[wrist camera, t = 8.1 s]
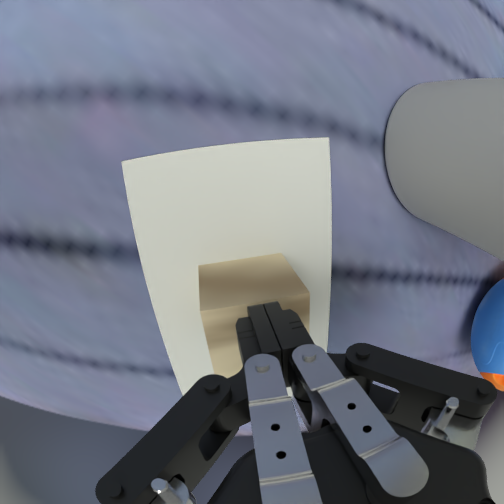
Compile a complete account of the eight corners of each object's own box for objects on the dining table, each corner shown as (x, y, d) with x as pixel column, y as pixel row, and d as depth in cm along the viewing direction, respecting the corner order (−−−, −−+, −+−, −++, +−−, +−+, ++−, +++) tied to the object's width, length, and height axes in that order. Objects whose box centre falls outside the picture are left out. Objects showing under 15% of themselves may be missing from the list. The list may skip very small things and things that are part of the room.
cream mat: (123, 160, 18) (121, 161, 17) (325, 137, 20) (328, 137, 19) (189, 409, 27) (189, 413, 26) (321, 384, 29) (323, 388, 28)
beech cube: (200, 311, 15) (217, 387, 18) (309, 292, 16) (308, 369, 18) (198, 265, 21) (211, 333, 23) (281, 252, 22) (284, 320, 24)
